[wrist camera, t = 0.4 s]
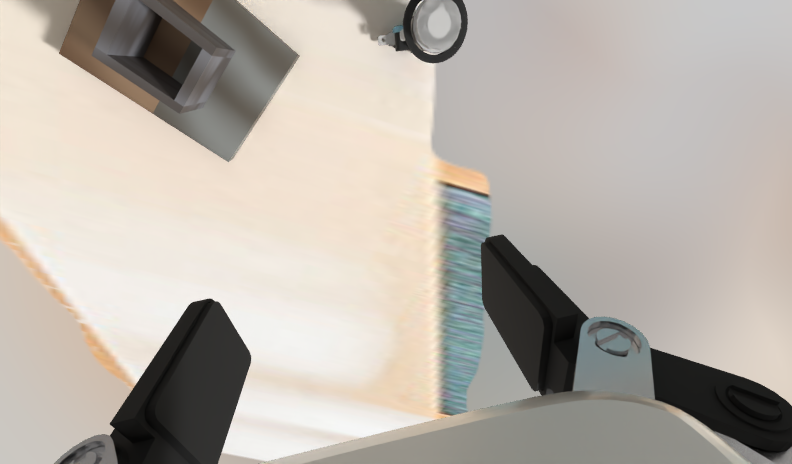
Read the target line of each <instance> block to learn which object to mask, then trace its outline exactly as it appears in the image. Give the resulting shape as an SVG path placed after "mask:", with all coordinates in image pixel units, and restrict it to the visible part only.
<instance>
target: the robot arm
mask: <svg viewBox="0 0 792 464" xmlns="http://www.w3.org/2000/svg"><path fill="white" fill-rule="evenodd" d="M481 266H482V300H483V304H484V307H485V309H486V311H487V312H488V314H489V316H490V318H491V320H492V321H493V323H494V325H495V326H496V328H497V330H498V332H499V333H500V335H501V337H502V338H503V340H504V342H505V344H506V345H507V347H508V349H509V350H510V352H511V354H512V355H513V357H514V359H515V361H516V362H517V364H518V366H519V368H520V369H521V371H522V373H523V374H524V376H525V378H526V380H527V381H528V383H529V385H530V386H531V388H532V389H533V390H534V391H538V390H539V392H540V394H541V395H542V396H538V397H532V398H528V399H523V400H519V401H514V402H510V403H505V404H501V405H496V406H492V407H487V408H483V409H479V410H474V411H470V412H466V413H462V414H458V415H454V416H450V417H445V418H441V419H437V420H433V421H429V422H425V423H421V424H417V425H412V426H408V427H404V428H400V429H396V430H392V431H388V432H384V433H380V434H376V435H372V436H368V437H364V438H359V439H355V440H351V441H347V442H343V443H339V444H335V445H331V446H327V447H323V448H319V449H315V450H311V451H307V452H303V453H299V454H295V455H291V456H287V457H283V458H279V459H275V460H271V461H267V462H263V463H260V464H792V406H791V405H790V404H789V403H788V402H787V401H786V400H784V399H783V398H782V397H780V396H779V395H778V394H776V393H775V392H773V391H772V390H770V389H768V388H766V387H765V386H763V385H761V384H759V383H756V382H754V381H751V380H749V379H746V378H743V377H740V376H737V375H734V374H731V373H727V372H725V371H721V370H718V369H715V368H712V367H709V366H705V365H703V364H699V363H696V362H693V361H690V360H687V359H684V358H681V357H678V356H674V355H671V354H668V353H665V352H662V351H658V350H655V349H652V348H650V346H649V343H648V340H647V339H646V338H645V337H644V335H643V334H642V333H641V332H640V331H639V330H637V329H636V328H635V327H633V326H632V325H630V324H628V323H626V322H624V321H621V320H618V319H615V318H610V317H594V318H591V319H589V318H588V317H587V316H586V315H585V314H584V313H583V312H582V311H581V310H580V309H579V308H578V307H577V306H576V305H575V304H574V303H573V302H572V301H571V299H570V298H569V297H568V296H567V295H566V294H565V293H563V291H562V290H561V289H560V288H559V287H558V286H557V285H556V284H555V283H554V282H553V281H552V280H551V279H550V278H549V277H548V276H547V275H546V274H545V273H544V272H543V271H542V270H541V269H540V268H539V267H538V266H536V265H532V264H531V263H530V262H529V261H528V260H527V259H526V258H525V257H524V256H523V255H522V254H521V253H520V252H519V251H518V250H517V249H516V248H515V247H514V245H513V244H512V243H511V242H510V241H509V240H508V239H507V238H506V237H505V236H504V235H498V236H493V237H488V238H486V240H485V242H484V243H482V244H481ZM250 363H251V355H250V352H249V350H248V349H247V347H246V345H245V344H244V342H243V340H242V339H241V337H240V335H239V334H238V332H237V330H236V329H235V327H234V326H233V324H232V322H231V321H230V319H229V317H228V316H227V314H226V312H225V311H224V309H223V307H222V306H221V304H220V303H219V302H215V301H214V300H213V299H205V300H201V301H196V302H192V303H191V304H190V305H189V306H188V307H187V309H186V310H185V312H184V313H183V315H182V316H181V318H180V319H179V321H178V322H177V324H176V325H175V327H174V328H173V330H172V331H171V333H170V334H169V336H168V337H167V339H166V340H165V342H164V343H163V345H162V346H161V348H160V349H159V351H158V352H157V354H156V355H155V357H154V358H153V360H152V361H151V363H150V364H149V366H148V367H147V369H146V370H145V372H144V373H143V375H142V376H141V378H140V379H139V381H138V382H137V384H136V385H135V387H134V388H133V390H132V391H131V393H130V395H129V396H128V397H127V399H126V400H125V402H124V403H123V405H122V406H121V408H120V409H119V411H118V412H117V414H116V415H115V417H114V418H113V420H112V421H111V423H110V425H111V426H113V427H114V428H115V429H114V430H113V432H112V434H111V435H110V436H109V435H105V434H102V435H96V436H93V437H91V438H88V439H87V440H84V441H82V442H81V443H79V444H78V445H76V446H74V447H73V448H71V449H70V450H69V451H68V452H66V453H65V454H64V455H62V456H61V457H60V458H59V459H58V460H57V461H56V462H55V463H54V464H218V461H219V458H220V455H221V452H222V449H223V446H224V443H225V440H226V437H227V434H228V431H229V428H230V425H231V421H232V418H233V415H234V412H235V409H236V406H237V403H238V400H239V397H240V394H241V391H242V388H243V385H244V382H245V379H246V375H247V372H248V369H249V366H250Z"/></svg>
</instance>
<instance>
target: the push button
mask: <svg viewBox="0 0 792 464" xmlns="http://www.w3.org/2000/svg"><path fill="white" fill-rule="evenodd" d="M420 1H422V0H410V2H409V4H408V6H407V8H406V11H405V14H404V20H403V26H402V25H400V26H395V27H394V28H393V29H392V30H393V32H392V33H389V34H388V35H381V36H379V37H378V45H387V44H389V46H393V45H394V48H396V51H404V50H410V51H411V53H413V54H414V55H415V56H416V57H417V58H418V59H420V60H422V61H424V62H428V63H439V62H443V61H445V60H447V59H449V58H450V57H452V56H453V55H454V54H455V53H456V52H457V51H458V50H459V48H460V47H461V45H462V43H463V41H464V38H465V35H466V32H467V24H468V22H467V20H468V19H467V11H466V8H465V5H464V3H463V0H424V1H423V2H422V3H421V4H420V5H419V6H418V8H417V11H416V13H415V15H414V16H413V17H412V15H413V12H414V10H415V8H416V6H417V5H418V3H419V2H420ZM382 38H383V39H384V40H385V41H384V42H382ZM423 51H428V52H430V53H440V54H438V55H430V54H427V53H425V52H423Z"/></svg>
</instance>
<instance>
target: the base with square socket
mask: <svg viewBox="0 0 792 464" xmlns="http://www.w3.org/2000/svg"><path fill="white" fill-rule="evenodd" d="M59 54H61V55H62V56H64V57H65V58H67V59H69V60H70V61H72V62H73V63H75V64H76V65H78V66H80V67H81V68H83V69H84V70H86V71H87V72H89V73H90V74H92V75H94V76H95V77H97V78H98V79H100V80H101V81H103V82H104V83H106V84H108V85H109V86H111V87H112V88H114V89H115V90H117V91H118V92H120V93H122V94H123V95H125V96H126V97H128V98H129V99H131V100H132V101H134V102H136V103H137V104H139V105H140V106H142V107H143V108H145V109H146V110H148V111H150V112H151V113H153V114H154V115H156V116H157V117H159V118H160V119H162V120H164V121H165V122H167V123H168V124H170V125H171V126H173V127H175V128H176V129H178V130H179V131H181V132H182V133H184V134H185V135H187V136H189V137H190V138H192V139H193V140H195V141H196V142H198V143H199V144H201V145H203V146H204V147H206V148H207V149H209V150H210V151H212V152H213V153H215V154H217V155H218V156H220V157H221V158H223V159H224V160H226V161H227V162H229V161H231V160H232V159H233V158H234V156H235V155H236V153H237V151H238V150H239V148H240V147H241V145H242V144H243V142H244V141H245V139H246V138H247V136H248V135H249V133H250V132H251V130H252V128H253V127H254V125H255V124H256V122H257V121H258V119H259V118H260V116H261V115H262V113H263V112H264V110H265V109H266V107H267V105H268V104H269V102H270V101H271V99H272V98H273V96H274V95H275V93H276V92H277V90H278V89H279V87H280V86H281V84H282V82H283V81H284V79H285V78H286V76H287V75H288V73H289V72H290V70H291V69H292V67H293V66H294V64H295V62H296V61H297V59H298V58H299V55H298V54H297V53H296V52H295V51H293V50H292V49H291V48H290V47H289V46H288V45H287V44H285V43H284V42H283V41H282V40H281V39H280V38H279V37H278V36H276V35H275V34H274V33H273V32H272V31H271V30H270V29H268V28H267V27H266V26H265V25H264V24H263V23H262V22H260V21H259V20H258V19H257V18H256V17H255V16H254V15H253V14H251V13H250V12H249V11H248V10H247V9H246V8H245V7H243V6H242V5H241V4H240V3H239V2H238V1H237V0H80V2H79V4H78V7H77V10H76V12H75V15H74V17H73V20H72V22H71V25H70V27H69V30H68V32H67V35H66V37H65V40H64V42H63V45H62V47H61V50H60V52H59Z"/></svg>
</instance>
